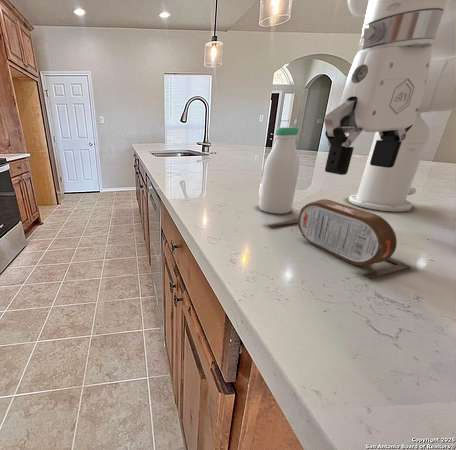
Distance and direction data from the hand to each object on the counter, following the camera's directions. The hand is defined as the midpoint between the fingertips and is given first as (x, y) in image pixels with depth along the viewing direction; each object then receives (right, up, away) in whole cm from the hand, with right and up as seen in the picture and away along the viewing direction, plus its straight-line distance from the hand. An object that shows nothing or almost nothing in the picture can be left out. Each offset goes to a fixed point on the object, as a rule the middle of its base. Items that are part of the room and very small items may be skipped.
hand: (358, 169), depth 39 cm
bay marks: (-1, -12, +7) cm, 14 cm away
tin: (-1, -14, +4) cm, 14 cm away
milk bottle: (-1, -5, +25) cm, 25 cm away
